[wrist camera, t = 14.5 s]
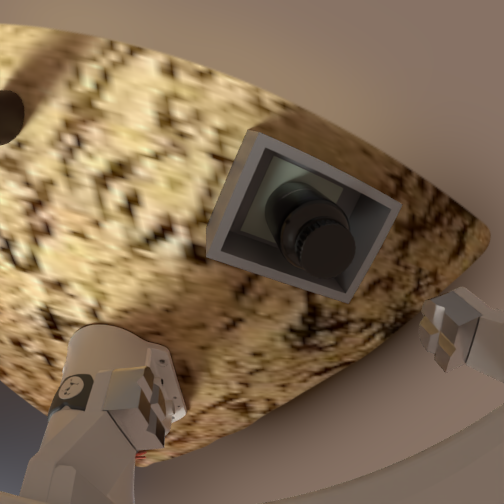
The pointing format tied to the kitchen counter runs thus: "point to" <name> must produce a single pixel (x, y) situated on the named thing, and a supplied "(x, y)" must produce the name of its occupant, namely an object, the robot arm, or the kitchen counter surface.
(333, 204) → the supplement bottle
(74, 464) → the robot arm
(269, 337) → the kitchen counter surface
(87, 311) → the kitchen counter surface
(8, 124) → the vinegar
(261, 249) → the walled bin
